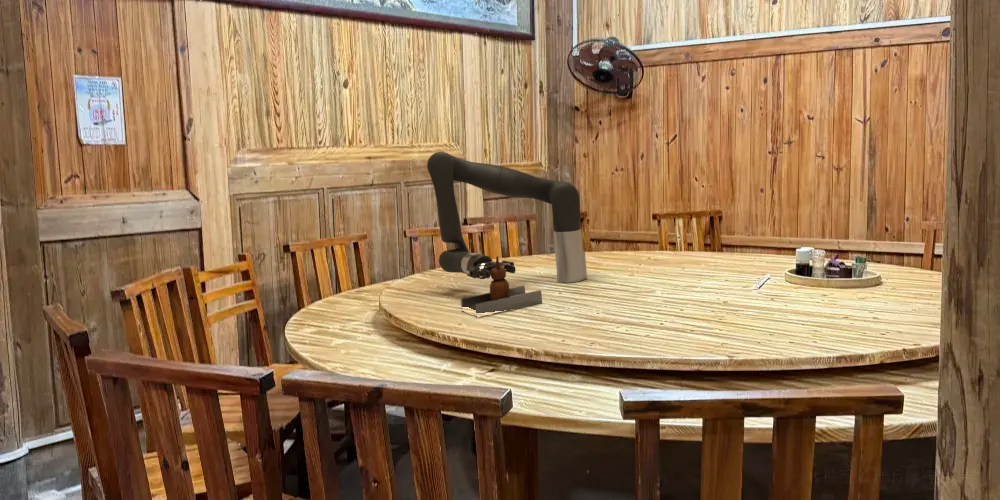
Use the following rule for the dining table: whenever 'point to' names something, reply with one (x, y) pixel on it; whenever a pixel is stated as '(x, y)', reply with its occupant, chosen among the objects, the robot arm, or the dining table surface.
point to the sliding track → (503, 301)
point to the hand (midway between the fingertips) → (501, 272)
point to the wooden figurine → (499, 282)
